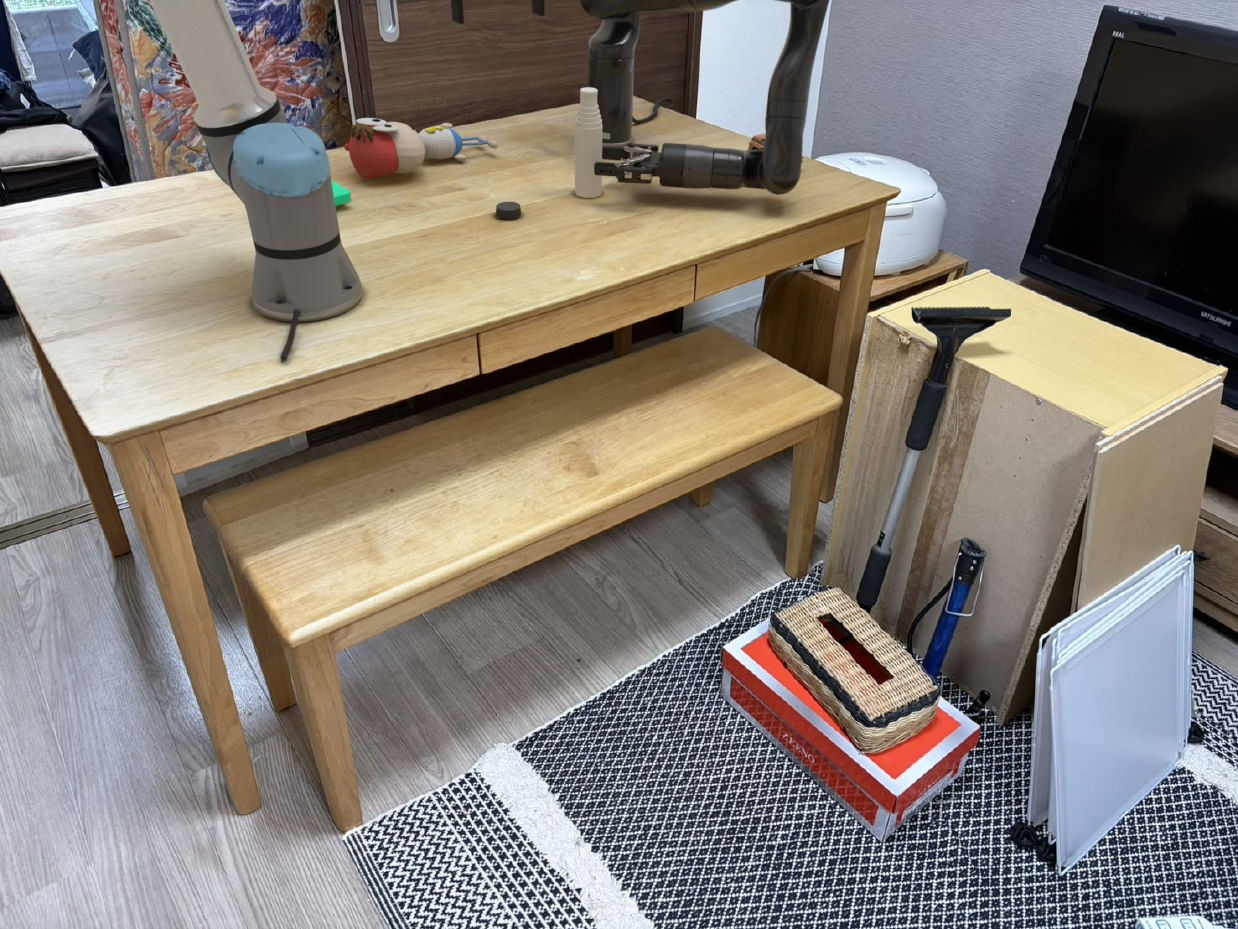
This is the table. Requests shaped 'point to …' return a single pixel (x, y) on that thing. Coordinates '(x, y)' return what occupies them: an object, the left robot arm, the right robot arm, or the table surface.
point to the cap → (508, 210)
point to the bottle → (588, 145)
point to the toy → (402, 146)
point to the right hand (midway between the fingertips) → (597, 160)
